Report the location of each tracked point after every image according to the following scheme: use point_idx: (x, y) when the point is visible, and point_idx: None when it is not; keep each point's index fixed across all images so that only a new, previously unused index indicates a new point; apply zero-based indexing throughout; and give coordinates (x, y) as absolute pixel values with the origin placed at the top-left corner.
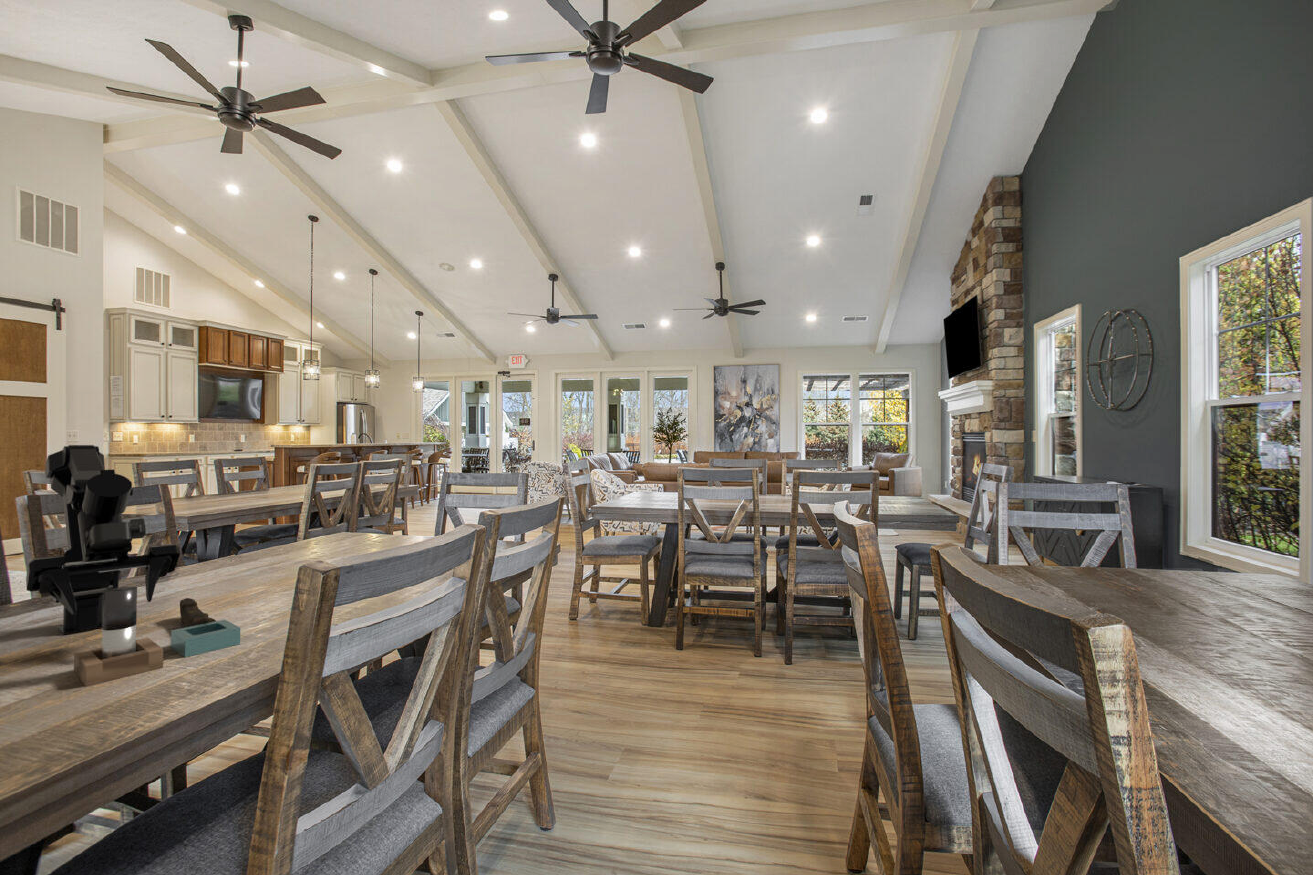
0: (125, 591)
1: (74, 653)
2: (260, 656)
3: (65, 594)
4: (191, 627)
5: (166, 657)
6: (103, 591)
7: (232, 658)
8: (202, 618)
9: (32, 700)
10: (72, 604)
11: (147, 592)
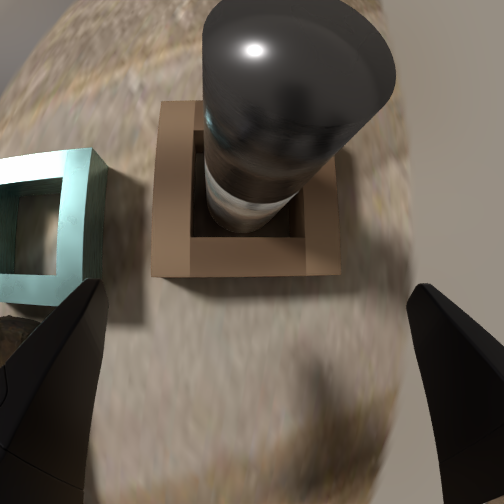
0: None
1: (340, 270)
2: (39, 61)
3: (499, 346)
4: (37, 289)
5: (134, 207)
6: (395, 77)
7: (64, 82)
8: (3, 358)
9: (385, 137)
10: (448, 305)
11: (88, 332)
